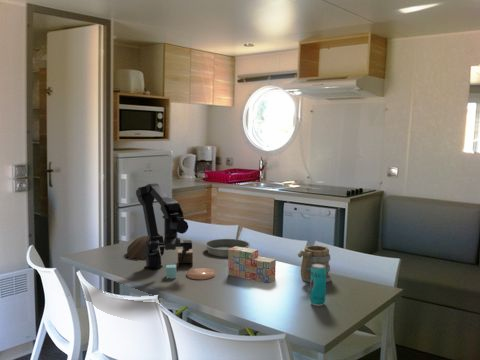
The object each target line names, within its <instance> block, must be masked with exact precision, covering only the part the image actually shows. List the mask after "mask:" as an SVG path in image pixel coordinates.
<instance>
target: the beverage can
mask: <svg viewBox="0 0 480 360" xmlns="http://www.w3.org/2000/svg"><path fill="white" fill-rule="evenodd" d="M325 267H326V266H325V265H323V264H313V265H312V268H311V282H309V283H310V288H309V289H310V291H309V292H310V293H309V300H310V302H311V305H312V306H315V307H321V306H324V304H325V302H326V294H327V293H326V290H327V287H326V286H327V282H326V268H325Z"/></svg>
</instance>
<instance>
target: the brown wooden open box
mask: <svg viewBox="0 0 480 360" xmlns="http://www.w3.org/2000/svg"><path fill="white" fill-rule="evenodd" d="M182 249H183V248H178V249H177V267H178V268H179V266H180V265H179V264H181V257H182ZM193 256H194V252H193V247H192V249H189V251H187V252H186V254H185V256H184V259H183V262H182V264H183V263H185V264H187V263H189V264H190V263H191V267H194V263H193V262H194V261H193V260H194V259H193V258H194V257H193Z"/></svg>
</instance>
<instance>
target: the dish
mask: <svg viewBox="0 0 480 360" xmlns="http://www.w3.org/2000/svg"><path fill="white" fill-rule="evenodd" d="M216 275H217V274H216V271H215V270H214V269H212V268H206V267H198V268H193V269H189V270H187V271H186V277H187V278H189V279H191V280H192V279H193V280H199V281H202V280H209V279H213V278H214V277H216Z"/></svg>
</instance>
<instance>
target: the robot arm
mask: <svg viewBox="0 0 480 360" xmlns="http://www.w3.org/2000/svg"><path fill="white" fill-rule="evenodd" d="M135 195H136V198H137V201H138V202H139V204H141V206H142V209H143V215H144V221H145V227H146V232H147V235H146V236H147V239H146V246H145V247H144V249H143V255H144V256H146V259H145V260H146V261H145V263H146V264H145V266H144V267H143V268H144V269H147V270H154V271H155V270H158V269H161V268H163V265H162V256H163V255H164V253H165V251H168V250H170V251H171V250H172V251H175V250H176V249H177V248H181V247H182V248H181V249H182V257H181V263H180V264H181V265H182V264H183V263H182V262H183V259H184V256H185V254H186V252H187V251H189V249H192V248H193V241H192V240H191V239H190V240H186V239H184V240H183V242H181V237H178V234H180V235H181V234H182V235H183V234H186V232H187V231H188V229H189V225H188V222H187V221H186V220H185V216H184V212H183V210H182V207H181V205H180V203H179V201H177V200H176V199H174V198H171V197H169V195H167V194H166V193H165V191H164V190H162V188H161V187H160V185H159V184H158V183H148V184H146V185H143V186H140V187H138V188H137V189H136V192H135ZM155 200H156V202H157V203H158V204H159V205H160V210H161V212H162V215H163V216H162V218H163V219H164V222H163V223H164V224H163V225H164V235H160V234H159V231H158V226H157V225H158V224H157V221H156V214H155V209H154V201H155ZM163 236H164V237H163ZM161 255H162V256H161Z"/></svg>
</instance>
